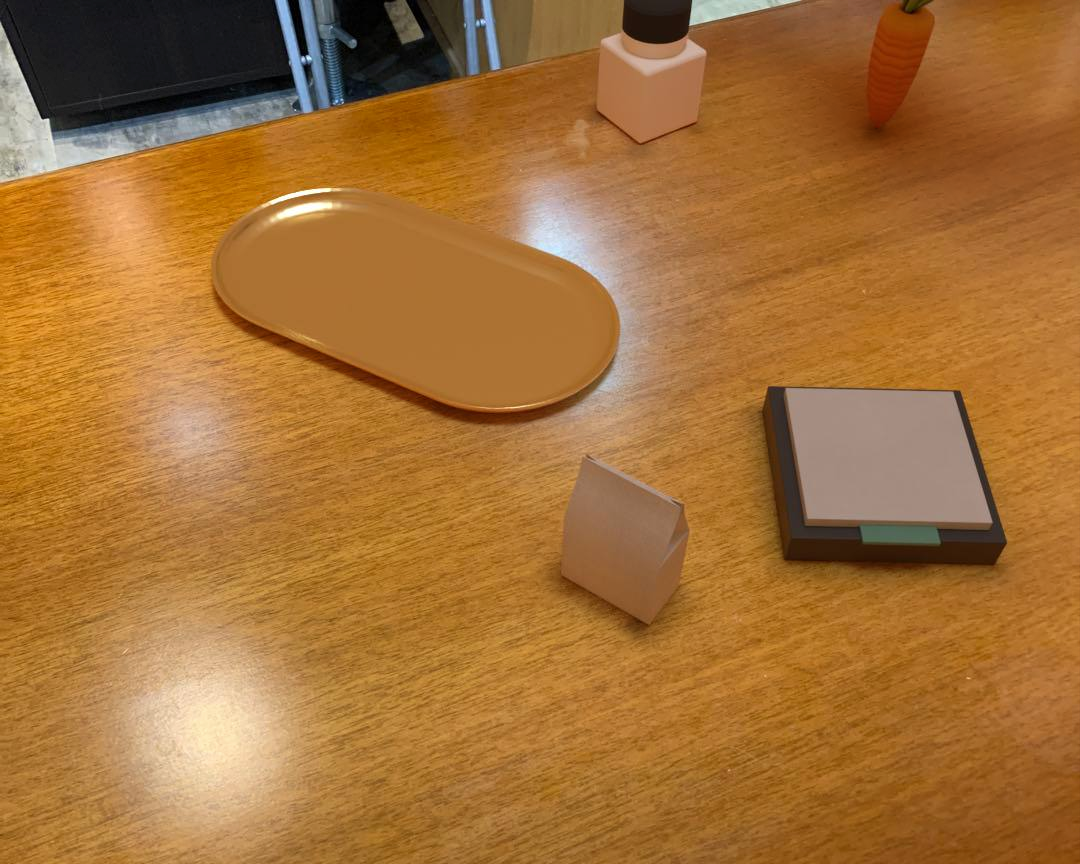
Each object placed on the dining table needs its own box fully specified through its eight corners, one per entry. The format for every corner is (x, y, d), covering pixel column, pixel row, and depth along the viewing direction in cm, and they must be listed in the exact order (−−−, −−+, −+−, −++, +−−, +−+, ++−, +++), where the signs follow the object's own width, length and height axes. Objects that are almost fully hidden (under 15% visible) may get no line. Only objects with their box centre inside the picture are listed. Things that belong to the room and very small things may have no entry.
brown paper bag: (649, 625, 69) (665, 527, 61) (561, 575, 71) (566, 474, 63) (678, 586, 71) (698, 486, 63) (592, 538, 73) (600, 436, 65)
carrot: (847, 112, 105) (888, -49, 93) (898, 113, 105) (946, -47, 93) (854, 141, 102) (898, -21, 90) (907, 142, 102) (958, -20, 90)
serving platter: (546, 459, 77) (546, 444, 76) (166, 297, 87) (161, 282, 86) (658, 308, 87) (660, 293, 86) (306, 179, 97) (304, 164, 96)
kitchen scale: (950, 413, 80) (964, 381, 78) (996, 569, 72) (1013, 540, 69) (762, 408, 81) (769, 377, 78) (785, 564, 72) (794, 535, 69)
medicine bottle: (698, 122, 104) (716, -4, 94) (639, 145, 101) (651, 18, 92) (653, 89, 107) (665, -36, 98) (594, 110, 105) (602, -16, 95)
